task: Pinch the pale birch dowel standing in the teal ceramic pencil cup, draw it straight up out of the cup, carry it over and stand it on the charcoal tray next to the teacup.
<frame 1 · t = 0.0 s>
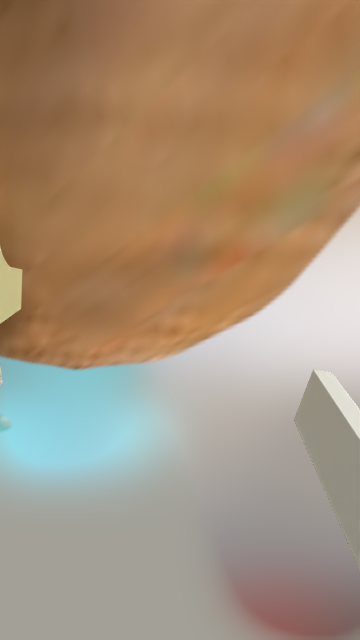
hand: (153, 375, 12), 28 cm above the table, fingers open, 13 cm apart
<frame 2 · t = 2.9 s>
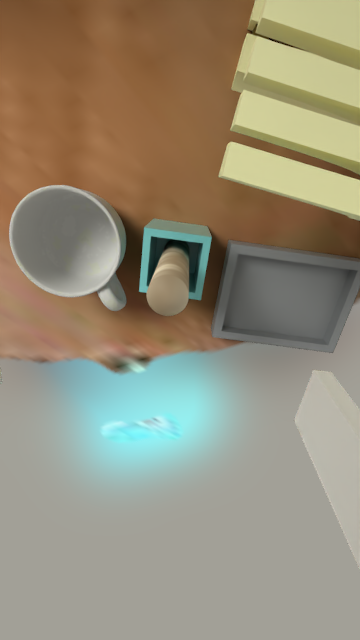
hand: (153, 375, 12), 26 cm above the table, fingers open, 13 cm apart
dowel: (176, 250, 36), point 1 cm above the table, touching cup
tray: (280, 295, 38), on the table
slatted curved stool: (334, 31, 28), on the table
teacup: (96, 245, 37), on the table
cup: (177, 249, 36), on the table
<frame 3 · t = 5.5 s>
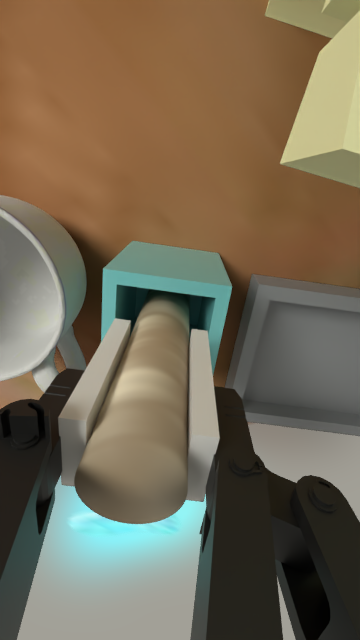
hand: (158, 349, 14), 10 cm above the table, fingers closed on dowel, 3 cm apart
dowel: (169, 291, 22), point 1 cm above the table, touching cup, gripper
tray: (328, 354, 25), on the table
teacup: (44, 281, 23), on the table
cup: (170, 287, 23), on the table
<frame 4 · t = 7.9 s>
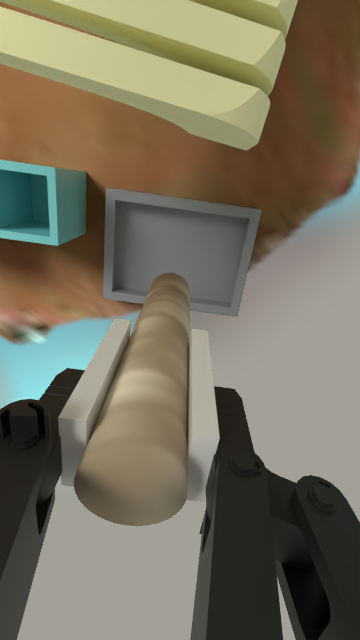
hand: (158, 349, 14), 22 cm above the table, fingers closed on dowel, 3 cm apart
dowel: (169, 291, 22), point 14 cm above the table, touching gripper
tray: (177, 252, 35), on the table
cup: (57, 199, 33), on the table
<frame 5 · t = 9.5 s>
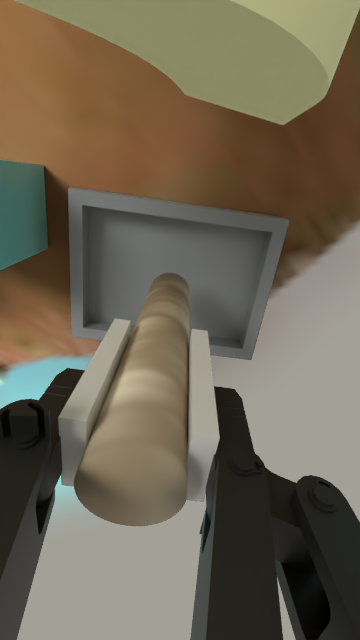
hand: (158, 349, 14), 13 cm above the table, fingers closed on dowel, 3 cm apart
dowel: (169, 292, 22), point 4 cm above the table, touching gripper
tray: (171, 274, 26), on the table
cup: (6, 203, 24), on the table
when the fingers open (11 cm above the table, at t = 10.6 s): dowel drops 1 cm, resting on tray.
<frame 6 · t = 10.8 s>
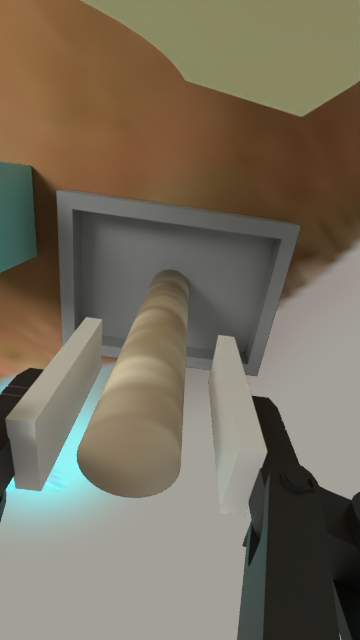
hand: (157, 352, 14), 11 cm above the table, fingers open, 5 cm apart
dowel: (169, 288, 23), point 1 cm above the table, touching tray
tray: (171, 284, 24), on the table
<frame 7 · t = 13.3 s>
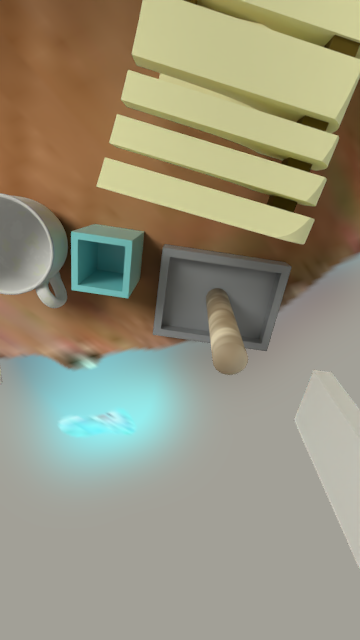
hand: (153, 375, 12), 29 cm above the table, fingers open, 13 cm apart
dowel: (216, 298, 40), point 1 cm above the table, touching tray
tray: (216, 296, 41), on the table
slatted curved stool: (244, 59, 31), on the table
teacup: (44, 248, 40), on the table
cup: (118, 252, 39), on the table
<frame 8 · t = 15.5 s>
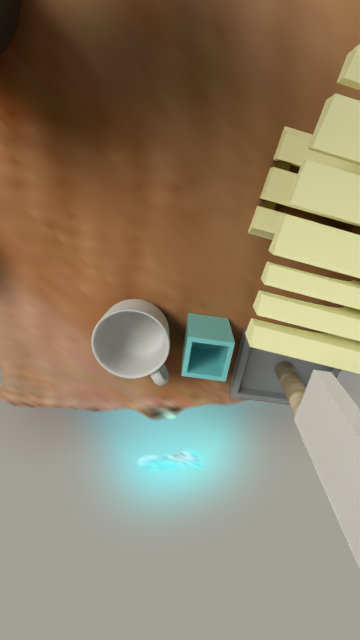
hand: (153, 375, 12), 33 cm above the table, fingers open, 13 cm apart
dowel: (283, 368, 49), point 1 cm above the table, touching tray
tray: (282, 365, 50), on the table
slatted curved stool: (320, 199, 40), on the table
teacup: (143, 330, 49), on the table
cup: (204, 333, 48), on the table
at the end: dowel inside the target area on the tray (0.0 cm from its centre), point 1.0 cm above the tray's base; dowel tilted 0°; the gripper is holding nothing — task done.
